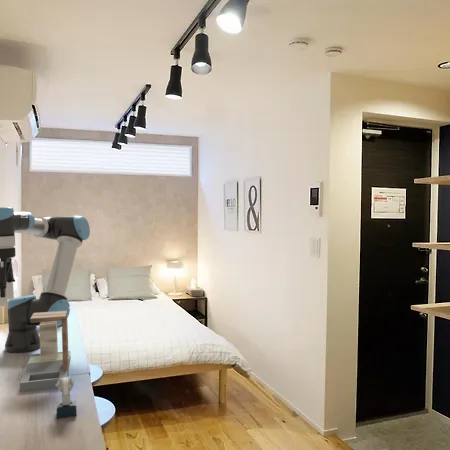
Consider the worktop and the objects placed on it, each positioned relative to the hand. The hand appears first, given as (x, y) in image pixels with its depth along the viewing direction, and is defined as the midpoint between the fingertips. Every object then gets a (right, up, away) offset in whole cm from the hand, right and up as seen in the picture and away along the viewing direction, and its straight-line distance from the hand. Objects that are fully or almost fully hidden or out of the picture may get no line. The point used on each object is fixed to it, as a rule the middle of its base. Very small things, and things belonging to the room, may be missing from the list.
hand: (6, 302), depth 182 cm
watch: (+37, -27, -40) cm, 61 cm away
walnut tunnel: (+20, -23, -7) cm, 31 cm away
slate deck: (+17, -26, -4) cm, 32 cm away
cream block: (+15, -23, +4) cm, 28 cm away
